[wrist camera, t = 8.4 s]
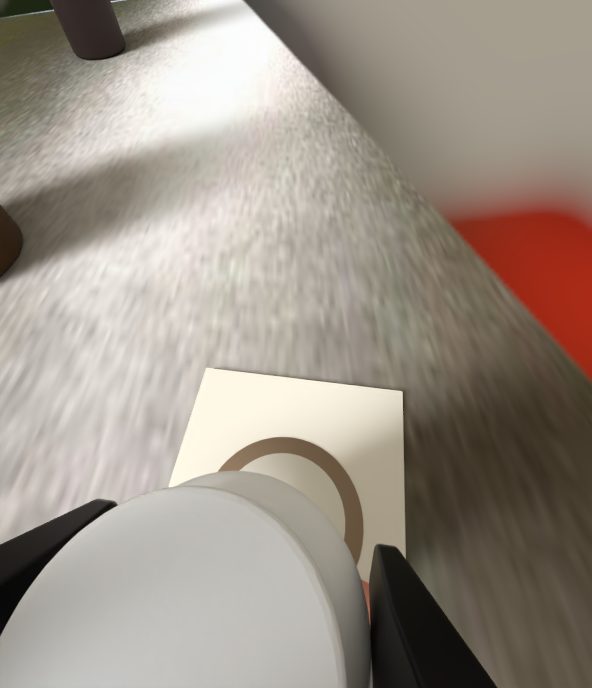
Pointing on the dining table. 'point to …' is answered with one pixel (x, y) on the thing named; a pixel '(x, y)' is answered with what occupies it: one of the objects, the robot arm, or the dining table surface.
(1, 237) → the brown rum bottle
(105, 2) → the vinegar
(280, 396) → the card
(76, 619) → the supplement bottle
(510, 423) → the dining table surface
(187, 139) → the dining table surface
